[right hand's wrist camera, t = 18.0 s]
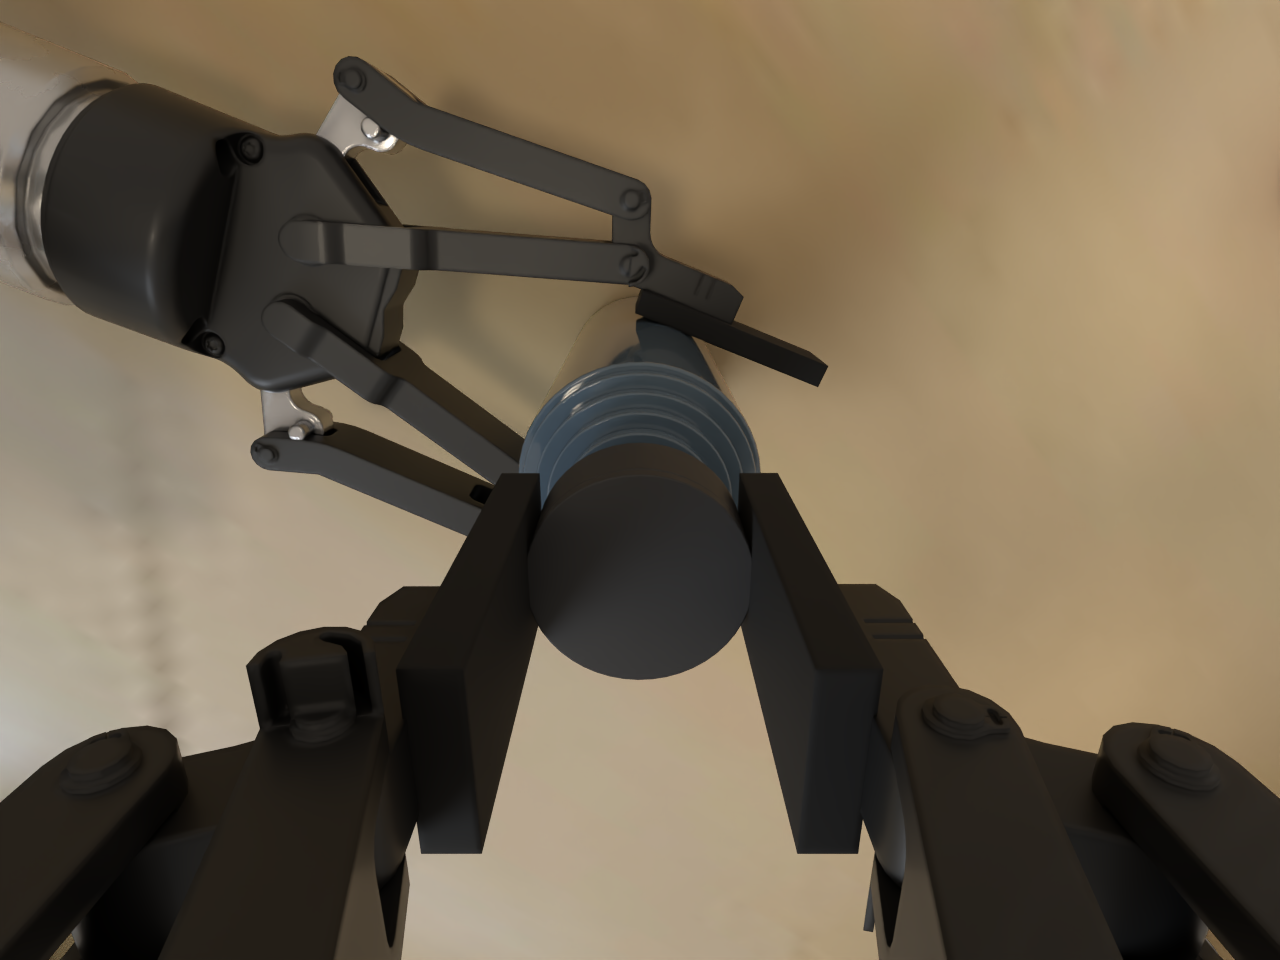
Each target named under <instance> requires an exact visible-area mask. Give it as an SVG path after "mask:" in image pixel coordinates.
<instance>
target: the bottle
mask: <svg viewBox="0 0 1280 960" xmlns="http://www.w3.org/2000/svg"><path fill="white" fill-rule="evenodd" d="M637 299H638V297H629V298H624V299H620V300H617V301H614V302H612V303H610V304H608V305H606V306H604V307H603V308H601V309H600V310H599V311H597V312H596V313H595V314H594V315H593V316H592V317H591V318H590V319H589V320H588V321H587V322H586V324H585V325H584V327H583V328H582V330H581V332H580V334H579V336H578V337H577V339H576V341H575V343H574V345H573V347H572V349H571V351H570V353H569V354H568V356H567V358H566V360H565V362H564V364H563V366H562V368H561V370H560V371H559V373H558V375H557V377H556V379H555V381H554V383H553V385H552V387H551V389H550V390H549V392H548V394H547V396H546V398H545V400H544V402H543V404H542V406H541V407H540V409H539V411H538V413H537V415H536V417H535V419H534V421H533V423H532V424H531V426H530V428H529V430H528V432H527V435H526V438H525V440H524V443H523V446H522V451H521V455H520V460H519V473H540V489H541V509H542V508H543V505H544V502H545V500H546V498H547V496H548V494H549V492H550V491H551V489H552V488H553V486H554V485H555V483H556V482H557V481H558V479H559V478H560V477H561V476H562V475H563V474H564V473H565V472H566V471H567V470H568V469H569V468H571V467H572V466H573V465H574V464H575V463H577V462H578V461H580V460H581V459H583V458H585V457H586V456H588V455H590V454H592V453H594V452H597V451H599V450H601V449H605V448H608V447H611V446H615V445H621V444H626V443H652V444H659V445H664V446H668V447H671V448H674V449H677V450H680V451H683V452H685V453H687V454H689V455H691V456H693V457H695V458H696V459H698V460H699V461H701V462H702V463H704V464H705V465H706V466H707V467H709V468H710V469H711V470H712V471H713V472H714V473H715V474H716V475H717V476H718V477H719V478H720V480H721V481H722V482H723V483H724V485H725V486H726V488H727V489H728V491H729V492H730V494H731V496H732V498H733V500H734V502H735V505H736V507H737V510H738V492H739V473H761V470H760V459H759V454H758V450H757V446H756V442H755V440H754V437H753V435H752V432H751V430H750V428H749V426H748V424H747V422H746V420H745V418H744V416H743V414H742V412H741V411H740V409H739V407H738V405H737V403H736V401H735V399H734V397H733V395H732V393H731V392H730V390H729V388H728V386H727V384H726V382H725V380H724V378H723V376H722V375H721V373H720V371H719V369H718V367H717V365H716V363H715V361H714V359H713V357H712V356H711V354H710V352H709V350H708V348H707V346H706V344H705V342H704V341H703V340H700V339H698V338H695V337H693V336H690V335H688V334H685V333H683V332H680V331H678V330H675V329H673V328H670V327H668V326H665V325H663V324H660V323H658V322H655V321H653V320H650V319H648V318H646V317H643V316H641V315H638V314H636V313H635V304H636V301H637Z"/></svg>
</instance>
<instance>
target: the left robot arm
mask: <svg viewBox="0 0 1280 960" xmlns="http://www.w3.org/2000/svg"><path fill="white" fill-rule="evenodd" d="M333 77H334V84H335V86H336V89H337V91H338V92H339V95H338V97H337V99H336V100H335V102H334V104H333V106H332V107H331V109H330V111H329V113H328V114H327V116H326V118H325V120H324V122H323V123H322V125H321V127H320V129H319V130H318V132H317V134H316V135H315V134H309V133H300V134H294V135H285V136H283V135H277V134H274V133H271V132H269V131H266V130H264V129H261V128H259V127H256V126H254V125H252V124H249V123H247V122H244V121H242V120H239V119H237V118H234V117H232V116H230V115H227V114H225V113H222V112H220V111H217V110H215V109H212V108H210V107H207V106H205V105H203V104H200V103H198V102H195V101H193V100H190V99H188V98H185V97H183V96H181V95H178V94H176V93H173V92H171V91H168V90H166V89H163V88H161V87H158V86H156V85H151V84H145V83H141V84H139V83H137V82H136V81H135V80H134V79H132V78H131V77H130V76H129V75H128V74H126V73H125V72H122V71H120V70H117V69H115V68H112V67H110V66H107V65H105V64H102V63H100V62H98V61H95V60H93V59H90V58H88V57H85V56H83V55H80V54H78V53H76V52H73V51H71V50H68V49H66V48H63V47H61V46H58V45H56V44H54V43H51V42H49V41H46V40H44V39H41V38H39V37H36V36H34V35H32V34H29V33H27V32H24V31H22V30H19V29H17V28H14V27H12V26H9V25H7V24H5V23H2V22H0V282H2V283H4V284H7V285H10V286H12V287H15V288H17V289H20V290H23V291H25V292H28V293H31V294H33V295H36V296H38V297H41V298H44V299H46V300H49V301H53V302H56V303H60V304H63V305H76V306H77V307H78V308H80V309H81V310H82V311H84V312H86V313H88V314H90V315H92V316H95V317H97V318H100V319H103V320H106V321H108V322H111V323H114V324H117V325H119V326H122V327H125V328H128V329H130V330H133V331H136V332H138V333H141V334H144V335H147V336H149V337H152V338H155V339H158V340H160V341H163V342H166V343H169V344H171V345H174V346H177V347H180V348H182V349H185V350H188V351H191V352H195V353H198V354H201V355H205V356H208V357H212V358H215V359H218V360H220V361H222V362H224V363H226V364H227V365H229V366H230V367H232V368H233V369H234V370H235V371H237V372H238V373H239V374H240V375H241V376H242V377H243V378H244V379H245V380H246V381H247V382H248V383H249V384H251V385H252V386H254V387H255V388H257V389H259V390H261V400H262V411H263V422H264V436H262V437H260V438H259V439H257V440H255V441H254V442H253V444H252V445H251V455H252V459H253V460H254V461H255V463H256V464H257V465H259V466H260V467H262V468H264V469H267V470H274V471H285V472H297V473H309V474H319V475H321V476H324V477H326V478H328V479H331V480H333V481H336V482H338V483H340V484H343V485H345V486H348V487H350V488H352V489H355V490H357V491H360V492H362V493H364V494H367V495H369V496H372V497H374V498H376V499H379V500H381V501H384V502H386V503H389V504H391V505H393V506H396V507H398V508H401V509H403V510H405V511H408V512H410V513H413V514H415V515H417V516H420V517H422V518H425V519H427V520H429V521H432V522H434V523H437V524H439V525H442V526H444V527H446V528H449V529H451V530H454V531H456V532H458V533H461V534H463V535H466V536H468V534H469V532H470V531H471V529H472V527H473V525H474V523H475V521H476V519H477V518H478V516H479V514H480V512H481V510H482V508H483V506H484V505H485V503H486V501H487V499H488V497H489V495H490V494H491V492H492V490H493V488H494V486H495V484H496V482H497V481H498V479H499V477H500V475H501V473H519V460H520V455H521V451H522V446H523V443H524V440H525V439H523V438H522V437H521V436H519V435H518V434H517V433H515V432H514V431H513V430H511V429H510V428H509V427H507V426H506V425H505V424H503V423H502V422H501V421H499V420H498V419H497V418H495V417H494V416H493V415H491V414H490V413H489V412H487V411H486V410H484V409H483V408H482V407H480V406H479V405H478V404H476V403H475V402H474V401H472V400H471V399H470V398H468V397H467V396H466V395H464V394H463V393H462V392H460V391H459V390H458V389H456V388H455V387H454V386H452V385H451V384H450V383H448V382H447V381H446V380H444V379H443V378H441V377H440V376H439V375H437V374H436V373H435V372H433V371H432V370H431V369H429V368H428V367H427V366H426V365H425V364H424V363H423V361H422V359H421V358H420V357H419V355H417V354H416V353H415V352H414V351H413V350H411V349H410V348H409V347H407V346H406V345H405V344H403V343H402V342H401V341H399V340H400V336H401V333H402V329H403V304H404V301H405V300H406V298H407V297H408V295H409V293H410V292H411V290H412V288H413V287H414V285H415V282H416V279H417V275H418V272H419V270H441V271H454V272H467V273H480V274H493V275H507V276H520V277H533V278H546V279H559V280H572V281H585V282H599V283H612V284H625V285H629V287H632V286H634V287H637V288H639V289H641V291H640V293H639V296H638V299H637V301H636V304H635V313H636V314H638V315H641V316H643V317H646V318H648V319H650V320H653V321H655V322H658V323H660V324H663V325H665V326H668V327H670V328H673V329H675V330H678V331H680V332H683V333H685V334H688V335H690V336H693V337H695V338H698V339H700V340H703V341H705V342H707V343H710V344H712V345H715V346H717V347H720V348H722V349H725V350H727V351H730V352H732V353H735V354H737V355H740V356H742V357H745V358H747V359H750V360H752V361H755V362H757V363H759V364H762V365H764V366H767V367H769V368H772V369H774V370H777V371H779V372H782V373H784V374H787V375H789V376H792V377H794V378H797V379H799V380H802V381H804V382H807V383H809V384H812V385H814V386H816V387H818V386H819V384H820V382H821V380H822V378H823V376H824V374H825V372H826V370H827V368H828V366H827V365H826V364H825V363H824V362H822V361H821V360H820V359H818V358H817V357H816V356H815V355H813V354H812V353H811V352H809V351H807V350H804V349H802V348H799V347H797V346H795V345H792V344H790V343H787V342H785V341H782V340H780V339H777V338H775V337H773V336H770V335H768V334H765V333H763V332H760V331H758V330H756V329H753V328H751V327H748V326H746V325H743V324H741V323H738V322H736V321H734V318H735V316H736V313H737V311H738V309H739V307H740V304H741V302H742V300H743V296H742V295H741V294H740V293H739V292H738V291H737V290H736V289H735V288H734V287H733V286H732V285H731V284H730V283H728V282H726V281H724V280H722V279H719V278H717V277H714V276H712V275H710V274H707V273H705V272H702V271H700V270H698V269H695V268H693V267H690V266H688V265H686V264H683V263H681V262H678V261H676V260H674V259H671V258H669V257H667V256H664V255H662V254H661V253H659V252H658V251H657V250H656V249H655V248H654V246H653V244H652V241H651V236H650V223H651V195H650V191H649V189H648V188H647V186H646V185H645V184H644V183H642V182H641V181H639V180H637V179H634V178H632V177H629V176H626V175H623V174H620V173H617V172H615V171H612V170H609V169H606V168H603V167H600V166H597V165H595V164H592V163H589V162H586V161H583V160H580V159H578V158H575V157H572V156H569V155H566V154H563V153H560V152H558V151H555V150H552V149H549V148H546V147H543V146H541V145H538V144H535V143H532V142H529V141H526V140H523V139H521V138H518V137H515V136H512V135H509V134H506V133H503V132H501V131H498V130H495V129H492V128H489V127H486V126H484V125H481V124H478V123H475V122H472V121H469V120H466V119H464V118H461V117H458V116H455V115H452V114H449V113H447V112H444V111H441V110H438V109H435V108H432V107H429V106H427V105H426V104H425V103H424V102H423V101H421V100H420V99H419V98H418V97H416V96H415V95H414V94H413V93H411V92H410V91H409V90H408V89H406V88H405V87H404V86H403V85H401V84H400V83H399V82H398V81H397V80H395V79H394V78H393V77H391V76H390V75H388V74H386V73H384V72H383V71H381V70H379V69H378V68H376V67H374V66H372V65H371V64H369V63H367V62H365V61H364V60H362V59H360V58H358V57H352V56H348V57H345V58H343V59H341V60H340V61H339V62H338V63H337V65H336V66H335V70H334V73H333ZM406 144H409V145H412V146H414V147H417V148H419V149H422V150H424V151H427V152H430V153H433V154H436V155H439V156H442V157H445V158H447V159H450V160H453V161H456V162H459V163H462V164H465V165H468V166H471V167H474V168H477V169H479V170H482V171H485V172H488V173H491V174H494V175H497V176H500V177H503V178H506V179H508V180H511V181H514V182H517V183H520V184H523V185H526V186H529V187H532V188H535V189H538V190H540V191H543V192H546V193H549V194H552V195H555V196H558V197H561V198H564V199H567V200H569V201H572V202H575V203H578V204H581V205H584V206H587V207H590V208H593V209H596V210H599V211H601V212H604V213H607V214H610V215H612V241H604V240H591V239H578V238H565V237H552V236H540V235H527V234H514V233H501V232H488V231H475V230H462V229H451V228H442V227H429V226H416V225H403V224H401V222H400V221H399V220H398V218H397V217H396V215H395V214H394V212H393V211H392V210H391V208H390V207H389V205H388V204H387V203H386V201H385V200H384V198H383V197H382V195H381V194H380V193H379V191H378V190H377V188H376V187H375V186H374V184H373V183H372V181H371V180H370V179H369V177H368V176H367V174H366V173H365V171H364V170H363V169H362V167H361V166H360V164H359V163H358V162H357V160H356V159H355V158H356V156H357V155H358V154H359V153H360V152H362V151H363V150H366V149H372V150H374V151H377V152H380V153H384V154H391V155H392V154H397V153H398V152H400V151H401V150H402V149H403V148H404V147H405V145H406ZM332 379H337V380H338V381H340V382H341V383H343V384H344V385H345V386H347V387H348V388H350V389H351V390H352V391H354V392H355V393H357V394H358V395H359V396H361V397H362V398H364V399H365V400H367V401H368V402H371V403H373V404H378V405H382V406H384V407H386V408H388V409H389V410H391V411H392V412H393V413H395V414H396V415H398V416H399V417H400V418H402V419H403V420H404V421H406V422H407V423H409V424H410V425H411V426H413V427H414V428H416V429H417V430H418V431H420V432H421V433H423V434H424V435H425V436H427V437H428V438H430V439H431V440H432V441H434V442H435V443H436V444H438V445H439V446H441V447H442V448H443V449H445V450H446V451H448V452H449V453H450V454H452V455H453V456H455V457H456V458H457V459H459V460H460V461H462V462H463V463H464V464H466V465H467V466H468V467H470V468H471V469H473V470H474V471H475V472H477V473H478V474H480V475H481V476H482V477H484V478H485V479H487V480H488V481H489V482H491V483H492V484H490V483H488V482H486V481H483V480H481V479H479V478H476V477H474V476H472V475H469V474H467V473H465V472H462V471H460V470H458V469H455V468H453V467H451V466H448V465H446V464H444V463H441V462H439V461H437V460H434V459H432V458H430V457H427V456H425V455H423V454H420V453H418V452H416V451H413V450H411V449H409V448H406V447H404V446H402V445H399V444H397V443H395V442H392V441H390V440H388V439H385V438H383V437H381V436H378V435H376V434H374V433H371V432H369V431H367V430H364V429H361V428H358V427H356V426H352V425H348V424H344V423H338V422H333V416H332V413H331V412H330V411H329V410H328V409H325V408H323V407H321V406H318V405H315V404H313V403H311V402H310V401H308V400H307V399H306V398H305V396H304V395H303V393H302V389H301V388H302V387H305V386H309V385H313V384H317V383H321V382H325V381H328V380H332ZM493 484H494V485H493Z"/></svg>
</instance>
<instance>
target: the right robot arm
mask: <svg viewBox="0 0 1280 960" xmlns="http://www.w3.org/2000/svg"><path fill="white" fill-rule="evenodd" d="M541 511H542V509H541V489H540V473H501V475H500V477H499V479H498V481H497V482H496V484H495V486H494V488H493V490H492V492H491V494H490V495H489V497H488V499H487V501H486V503H485V505H484V506H483V508H482V510H481V512H480V514H479V516H478V518H477V519H476V521H475V523H474V525H473V527H472V529H471V531H470V532H469V534H468V536H467V538H466V540H465V542H464V543H463V545H462V547H461V549H460V551H459V553H458V555H457V556H456V558H455V560H454V562H453V564H452V566H451V568H450V569H449V571H448V573H447V575H446V577H445V579H444V580H443V582H442V584H441V586H403V587H402V588H401V589H399V590H398V591H396V592H395V593H393V594H392V595H390V596H389V597H387V598H386V599H384V600H383V601H381V602H380V603H379V604H378V606H377V607H376V609H375V610H374V612H373V613H372V615H371V616H370V618H369V619H368V621H367V625H364V627H363V628H362V630H361V631H360V630H356V629H352V628H348V627H321V628H316V629H311V630H306V631H300V632H298V633H295V634H292V635H290V636H287V637H284V638H282V639H279V640H277V641H275V642H273V643H272V644H270V645H269V646H267V647H265V648H264V649H262V650H261V651H259V652H258V653H257V654H256V655H255V656H254V657H253V658H252V660H251V661H250V662H249V663H248V664H247V665H246V668H247V673H248V677H249V682H250V686H251V691H252V695H253V700H254V704H255V709H256V713H257V717H258V722H259V726H260V730H259V732H258V735H257V737H256V739H255V740H254V741H251V742H247V743H244V744H240V745H237V746H233V747H228V748H223V749H219V750H214V751H209V752H204V753H200V754H195V755H190V756H186V757H182V756H181V753H180V749H179V746H178V742H177V738H175V737H174V736H173V735H172V734H171V733H170V732H169V731H168V730H166V729H162V728H157V727H152V726H139V727H128V728H121V729H117V730H112V731H109V732H107V733H106V732H104V733H102V734H99V735H96V736H93V737H91V738H89V739H87V740H85V741H83V742H81V743H79V744H77V745H74V746H72V747H70V748H68V749H66V750H64V751H63V752H62V753H60V754H59V755H57V756H56V757H54V758H53V759H52V760H50V761H49V762H47V763H46V764H45V765H43V766H42V767H41V768H39V769H38V770H37V771H36V772H35V773H34V774H33V775H31V776H30V777H29V778H28V779H27V780H26V781H24V782H23V783H22V784H21V785H20V786H19V787H18V788H16V789H15V790H14V791H13V792H12V793H11V794H10V795H8V796H7V797H6V798H5V799H4V800H3V801H2V802H0V960H49V958H50V957H51V956H52V955H53V954H54V953H55V951H56V950H57V949H58V948H59V947H60V945H61V944H62V943H63V942H64V941H65V939H66V938H67V937H68V936H69V935H70V933H72V936H73V938H74V941H75V943H74V944H73V945H72V946H71V947H70V949H69V950H68V951H67V952H66V954H65V955H64V956H63V957H62V958H61V959H60V960H401V956H402V947H403V938H404V930H405V921H406V912H407V904H408V895H409V886H410V883H409V875H408V868H407V861H406V854H405V852H406V849H407V846H408V843H409V841H410V838H411V835H412V833H413V830H414V827H415V824H416V822H417V827H418V834H419V841H420V849H421V854H482V850H483V846H484V842H485V838H486V834H487V830H488V826H489V822H490V818H491V814H492V810H493V806H494V802H495V798H496V794H497V790H498V786H499V782H500V778H501V774H502V770H503V766H504V762H505V758H506V753H507V749H508V745H509V741H510V737H511V733H512V729H513V725H514V721H515V717H516V713H517V709H518V705H519V701H520V697H521V693H522V689H523V685H524V681H525V677H526V673H527V669H528V665H529V661H530V657H531V653H532V649H533V644H534V640H535V636H536V632H537V628H538V624H537V623H536V621H535V619H534V617H533V614H532V612H531V610H530V596H529V579H528V563H527V553H528V550H529V547H530V544H531V541H532V538H533V535H534V532H535V529H536V526H537V523H538V520H539V517H540V514H541ZM738 513H739V516H740V519H741V522H742V525H743V528H744V531H745V534H746V537H747V540H748V543H749V546H750V550H751V553H752V565H751V582H750V599H749V610H748V612H747V614H746V617H745V619H744V621H743V623H742V624H741V628H742V632H743V636H744V640H745V644H746V648H747V652H748V656H749V660H750V664H751V668H752V672H753V676H754V680H755V684H756V688H757V692H758V696H759V700H760V704H761V708H762V712H763V716H764V720H765V725H766V729H767V733H768V737H769V741H770V745H771V749H772V753H773V757H774V761H775V765H776V769H777V773H778V777H779V781H780V785H781V789H782V793H783V797H784V801H785V805H786V809H787V813H788V817H789V822H790V826H791V830H792V834H793V838H794V842H795V846H796V850H797V854H858V850H859V842H860V835H861V828H862V821H864V823H865V826H866V829H867V831H868V834H869V837H870V839H871V842H872V845H873V847H874V850H875V854H874V861H873V868H872V874H871V881H870V888H869V894H868V901H867V908H866V915H865V922H864V931H870V932H873V929H874V923H875V928H876V937H877V946H878V954H879V960H1223V959H1222V958H1221V957H1220V956H1219V955H1218V953H1217V952H1216V950H1215V949H1214V947H1213V946H1212V945H1211V943H1210V942H1209V941H1208V940H1207V938H1206V935H1207V933H1208V930H1209V929H1210V931H1211V932H1212V933H1213V934H1214V935H1215V936H1216V938H1217V939H1218V940H1219V941H1220V942H1221V944H1222V945H1223V946H1224V947H1225V948H1226V949H1227V951H1228V952H1229V953H1230V954H1231V955H1232V957H1233V958H1234V959H1235V960H1280V799H1279V798H1278V797H1277V796H1276V795H1275V794H1274V793H1273V792H1271V791H1270V790H1269V789H1268V788H1267V787H1266V786H1264V785H1263V784H1262V783H1261V782H1260V781H1259V780H1258V779H1256V778H1255V777H1254V776H1253V775H1252V774H1251V773H1249V772H1248V771H1247V770H1246V769H1245V768H1244V767H1242V766H1241V765H1240V764H1239V763H1238V762H1236V761H1235V760H1233V759H1232V758H1231V757H1229V756H1228V755H1226V754H1225V753H1223V752H1222V751H1221V750H1219V749H1218V748H1216V747H1215V746H1213V745H1211V744H1209V743H1207V742H1204V741H1202V740H1200V739H1198V738H1196V737H1194V736H1192V735H1190V734H1188V733H1186V732H1183V731H1180V730H1177V729H1171V728H1170V727H1165V726H1160V725H1155V724H1145V723H1134V722H1132V723H1126V724H1121V725H1116V726H1113V727H1112V728H1111V729H1110V730H1108V731H1107V732H1106V733H1105V734H1104V735H1103V738H1102V742H1101V745H1100V749H1099V752H1098V754H1095V753H1090V752H1085V751H1081V750H1076V749H1071V748H1066V747H1062V746H1057V745H1052V744H1047V743H1043V742H1040V741H1036V740H1033V739H1029V738H1025V737H1024V736H1023V733H1022V731H1021V729H1020V727H1019V726H1018V724H1017V723H1016V722H1015V720H1014V719H1013V718H1012V716H1011V715H1010V714H1009V713H1008V712H1007V711H1006V710H1004V709H1003V708H1002V707H1000V706H999V705H997V704H996V703H995V702H993V701H992V700H990V699H988V698H986V697H983V696H981V695H979V694H976V693H974V692H972V691H970V690H966V689H961V688H959V687H958V685H957V684H956V682H955V681H954V679H953V678H952V676H951V675H950V673H949V672H948V670H947V669H946V668H945V666H944V665H943V663H942V662H941V660H940V659H939V657H938V656H937V654H936V653H935V651H934V650H933V648H932V647H931V646H930V644H929V643H928V641H927V640H926V639H924V638H923V634H922V632H921V631H920V629H919V628H918V626H917V625H916V623H913V619H912V618H911V616H910V615H909V613H908V612H907V610H906V609H905V607H904V606H903V604H902V603H901V601H900V600H899V599H897V598H896V597H894V596H893V595H891V594H890V593H888V592H887V591H885V590H884V589H882V588H881V587H879V586H878V585H876V584H837V582H836V580H835V578H834V577H833V575H832V573H831V571H830V569H829V567H828V565H827V564H826V562H825V560H824V558H823V556H822V554H821V553H820V551H819V549H818V547H817V545H816V543H815V541H814V540H813V538H812V536H811V534H810V532H809V530H808V528H807V527H806V525H805V523H804V521H803V519H802V517H801V516H800V514H799V512H798V510H797V508H796V506H795V504H794V503H793V501H792V499H791V497H790V495H789V493H788V491H787V490H786V488H785V486H784V484H783V482H782V480H781V478H780V477H779V475H778V473H739V492H738Z"/></svg>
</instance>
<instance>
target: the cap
mask: <svg viewBox="0 0 1280 960" xmlns="http://www.w3.org/2000/svg"><path fill="white" fill-rule="evenodd" d="M527 563H528V579H529V596H530V610H531V612H532V614H533V617H534V619H535V621H536V623H537V624H538V626H539V627H540V629H541V631H542V632H543V633H544V635H545V636H546V637H547V638H548V640H549V641H550V642H551V643H552V644H553V645H554V646H555V647H556V648H557V649H558V650H559V651H560V652H562V653H563V654H564V655H566V656H567V657H568V658H570V659H571V660H572V661H574V662H576V663H578V664H580V665H581V666H583V667H585V668H587V669H590V670H592V671H595V672H597V673H600V674H604V675H607V676H611V677H616V678H622V679H634V680H644V679H656V678H663V677H668V676H672V675H675V674H679V673H682V672H684V671H687V670H689V669H692V668H694V667H696V666H698V665H699V664H701V663H703V662H705V661H706V660H708V659H709V658H711V657H712V656H714V655H715V654H716V653H717V652H719V651H720V650H721V649H722V648H723V647H724V646H725V645H726V644H727V643H728V642H729V641H730V640H731V638H732V637H733V636H734V635H735V634H736V632H737V631H738V629H739V627H740V626H741V624H742V623H743V621H744V619H745V617H746V614H747V612H748V610H749V599H750V582H751V565H752V553H751V550H750V546H749V543H748V540H747V537H746V534H745V531H744V528H743V525H742V522H741V519H740V516H739V513H738V510H737V507H736V505H735V502H734V500H733V498H732V496H731V494H730V492H729V491H728V489H727V488H726V486H725V485H724V483H723V482H722V481H721V480H720V478H719V477H718V476H717V475H716V474H715V473H714V472H713V471H712V470H711V469H710V468H709V467H707V466H706V465H705V464H704V463H702V462H701V461H699V460H698V459H696V458H695V457H693V456H691V455H689V454H687V453H685V452H683V451H680V450H677V449H674V448H671V447H668V446H664V445H659V444H652V443H626V444H621V445H615V446H611V447H608V448H605V449H601V450H599V451H597V452H594V453H592V454H590V455H588V456H586V457H585V458H583V459H581V460H580V461H578V462H577V463H575V464H574V465H573V466H572V467H571V468H569V469H568V470H567V471H566V472H565V473H564V474H563V475H562V476H561V477H560V478H559V479H558V481H557V482H556V483H555V485H554V486H553V488H552V489H551V491H550V492H549V494H548V496H547V498H546V500H545V502H544V505H543V508H542V511H541V514H540V517H539V520H538V523H537V526H536V529H535V532H534V535H533V538H532V541H531V544H530V547H529V550H528V553H527Z"/></svg>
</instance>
